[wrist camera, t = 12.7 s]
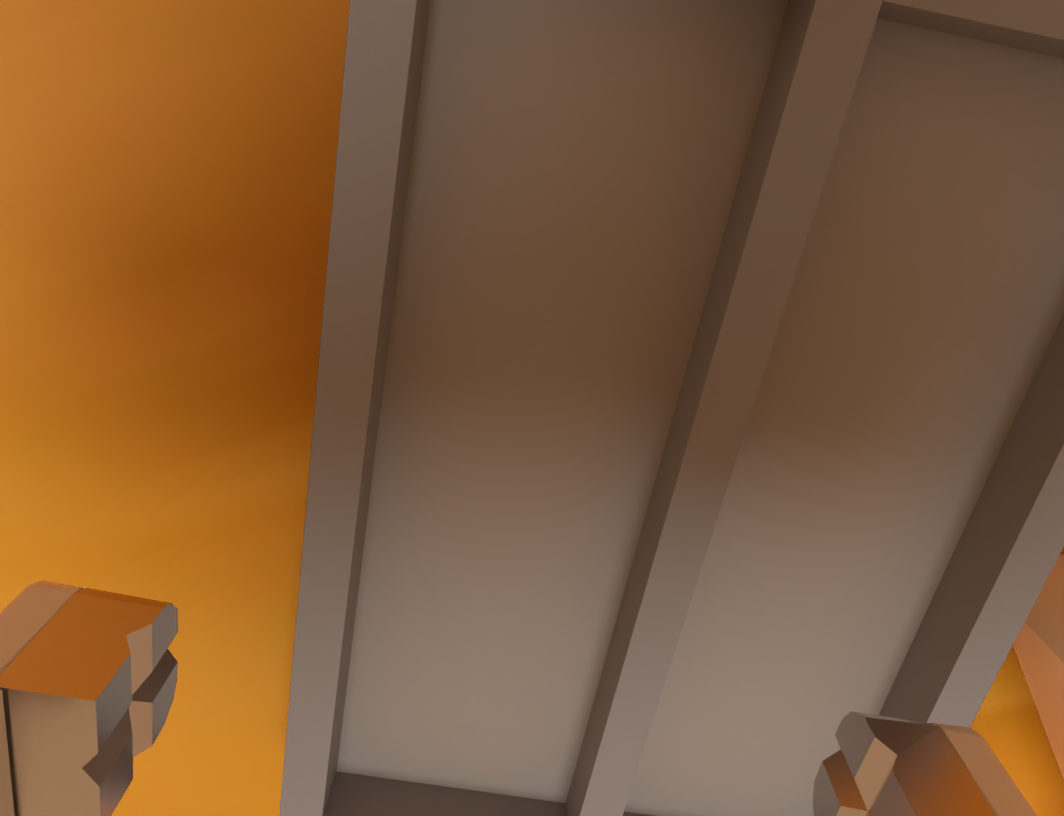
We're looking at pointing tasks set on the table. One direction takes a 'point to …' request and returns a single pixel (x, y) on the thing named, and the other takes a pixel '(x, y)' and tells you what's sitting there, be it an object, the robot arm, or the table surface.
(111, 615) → the robot arm
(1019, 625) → the divided tray
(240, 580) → the table surface
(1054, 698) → the clay strip
